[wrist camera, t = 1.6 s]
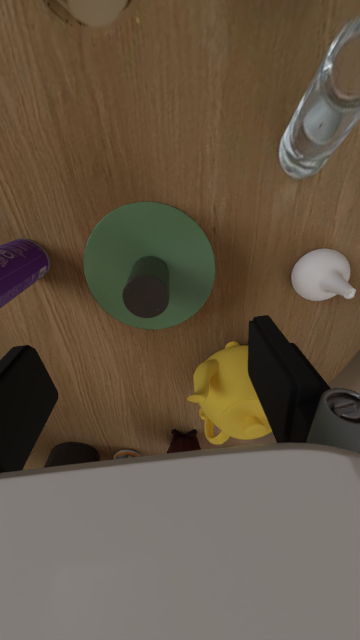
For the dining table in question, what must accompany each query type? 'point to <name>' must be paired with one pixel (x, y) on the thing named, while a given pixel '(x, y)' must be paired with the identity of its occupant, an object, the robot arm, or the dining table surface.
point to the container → (20, 267)
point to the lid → (149, 265)
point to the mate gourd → (183, 442)
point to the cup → (71, 454)
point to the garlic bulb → (322, 275)
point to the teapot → (228, 396)
